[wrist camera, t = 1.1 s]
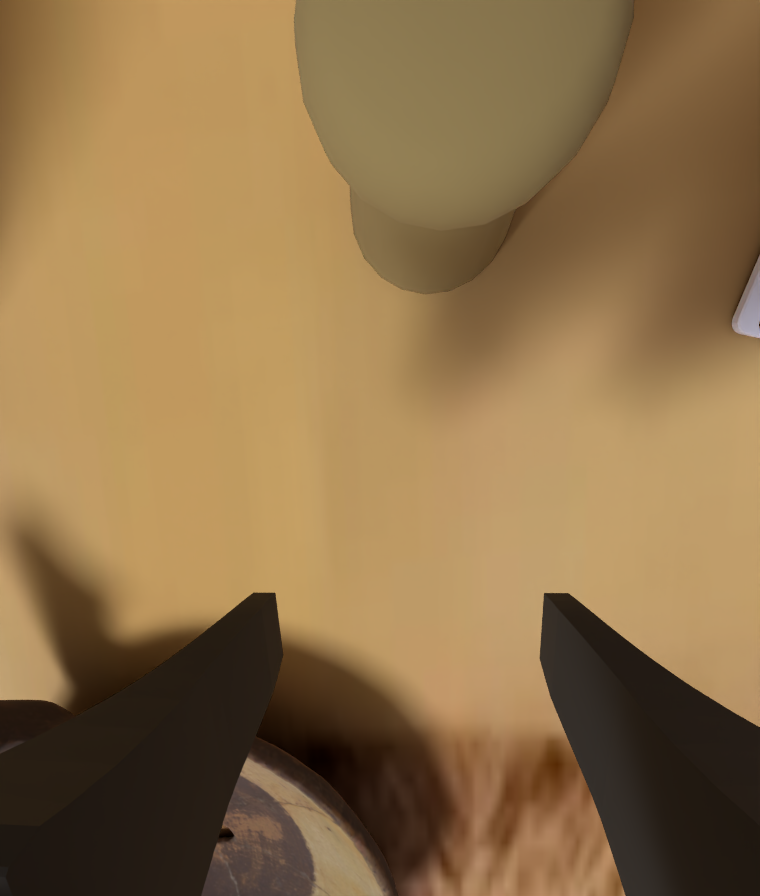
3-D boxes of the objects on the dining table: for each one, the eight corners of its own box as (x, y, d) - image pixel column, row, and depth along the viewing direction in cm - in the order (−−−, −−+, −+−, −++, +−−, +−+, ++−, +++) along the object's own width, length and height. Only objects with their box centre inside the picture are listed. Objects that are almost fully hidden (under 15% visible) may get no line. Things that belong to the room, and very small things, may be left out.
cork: (352, 114, 15) (217, -380, 5) (522, 114, 15) (795, -416, 4) (349, 291, 17) (244, 225, 6) (502, 296, 16) (664, 236, 6)
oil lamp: (144, 962, 30) (57, 1167, 23) (-91, 609, 23) (-328, 741, 16) (451, 930, 27) (466, 1157, 19) (287, 508, 20) (215, 615, 12)
